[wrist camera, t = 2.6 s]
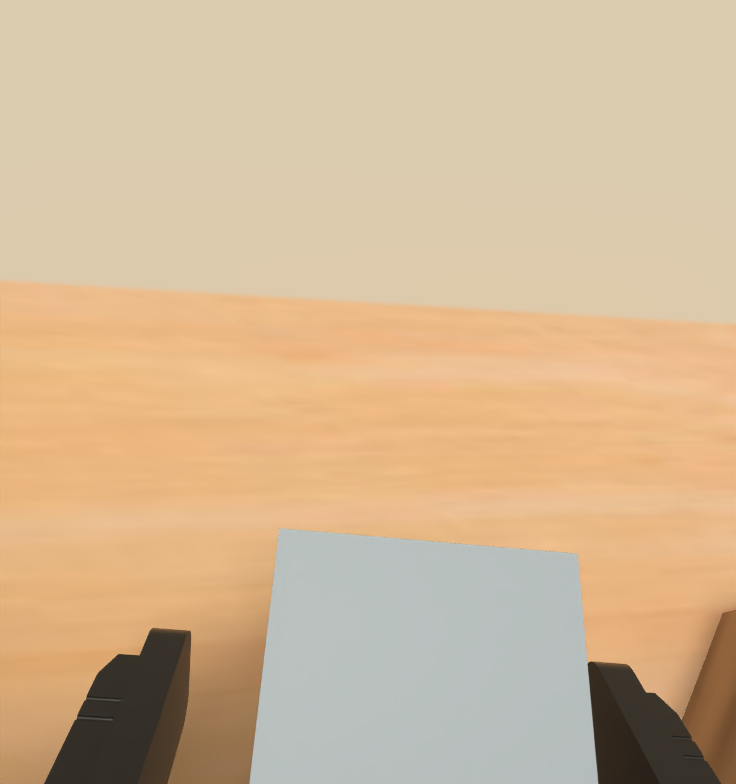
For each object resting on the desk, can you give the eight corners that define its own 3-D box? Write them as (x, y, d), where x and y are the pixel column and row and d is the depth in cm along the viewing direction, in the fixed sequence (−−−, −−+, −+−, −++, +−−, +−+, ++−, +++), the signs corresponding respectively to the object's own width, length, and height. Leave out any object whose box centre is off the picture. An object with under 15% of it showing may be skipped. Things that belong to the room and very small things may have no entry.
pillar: (259, 807, 16) (233, 915, 7) (279, 619, 18) (279, 528, 10) (435, 817, 17) (610, 928, 8) (436, 631, 19) (577, 553, 10)
